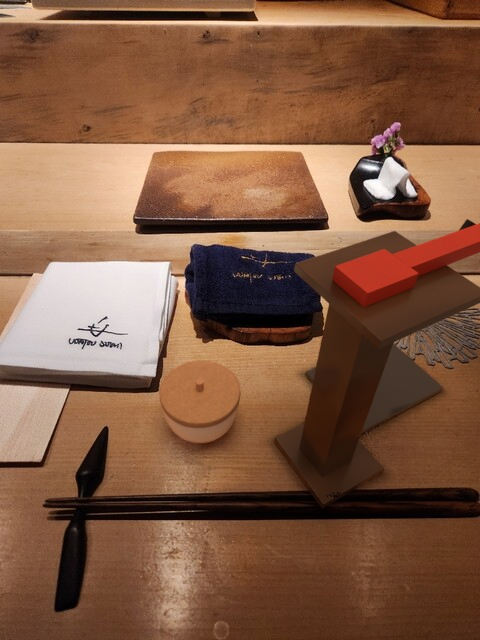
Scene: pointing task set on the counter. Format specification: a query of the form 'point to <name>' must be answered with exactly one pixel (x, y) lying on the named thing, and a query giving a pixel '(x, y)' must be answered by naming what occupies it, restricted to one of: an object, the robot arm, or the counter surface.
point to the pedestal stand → (359, 364)
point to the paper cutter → (397, 388)
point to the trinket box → (200, 400)
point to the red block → (403, 266)
